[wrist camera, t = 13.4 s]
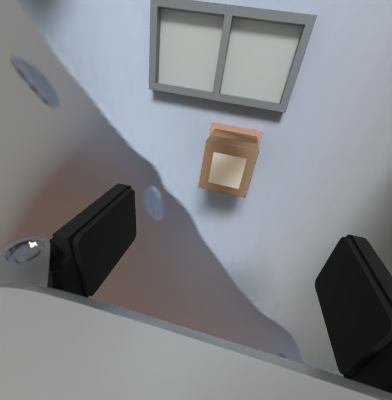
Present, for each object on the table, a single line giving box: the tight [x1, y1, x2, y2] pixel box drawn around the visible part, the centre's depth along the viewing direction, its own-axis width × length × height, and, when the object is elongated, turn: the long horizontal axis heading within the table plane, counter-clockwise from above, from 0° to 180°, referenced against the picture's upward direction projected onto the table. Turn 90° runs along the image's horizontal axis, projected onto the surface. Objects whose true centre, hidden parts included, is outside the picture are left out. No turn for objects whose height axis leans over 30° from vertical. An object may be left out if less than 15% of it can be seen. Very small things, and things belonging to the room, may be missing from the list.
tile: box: [209, 123, 263, 146], centre depth 27 cm, size 6×6×1 cm
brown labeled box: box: [199, 129, 259, 198], centre depth 24 cm, size 5×5×6 cm
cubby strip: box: [149, 0, 317, 112], centre depth 22 cm, size 15×8×1 cm, turn 82°
